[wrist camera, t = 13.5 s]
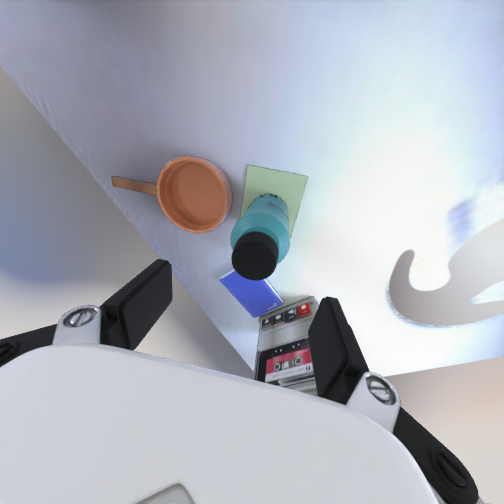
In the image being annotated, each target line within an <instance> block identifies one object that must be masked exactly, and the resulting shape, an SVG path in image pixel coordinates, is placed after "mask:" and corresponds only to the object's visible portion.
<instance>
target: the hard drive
mask: <svg viewBox="0 0 504 504" xmlns="http://www.w3.org/2000/svg"><path fill="white" fill-rule="evenodd" d="M220 281H221V282H222V283H223V284H224V286H225V287H226V288H227V289H228V290H229V291H230V292H231V293H232V294H233V295H234V297H235V298H236V299H237V300H238V301H239V302H240V303H241V304H242V306H243V307H244V308H245V309H246V310H247V311H248V312H249V313H250V314H251V316H252V317H253V318H256V317H258V316H260V315H262V314H264V313H266V312H268V311H271V310H273V309H275V308H277V307H279V306H281V305H283V300H282V299H281V298H280V296H279V295H278V294H277V293H276V291H275V290H274V289H273V288H272V287H271V285H270V284H269V283H268V282H267V280H266V279H263V280H258V281H253V280H248V279H245V278H243V277H242V276H240V275H239V274H238V273H237V272H236V271H235V269H233V270H232V271H230V272H228V273H227V274H225V275H223V276H222V277H221V278H220Z"/></svg>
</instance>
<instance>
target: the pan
mask: <svg viewBox="0 0 504 504" xmlns="http://www.w3.org/2000/svg"><path fill="white" fill-rule="evenodd" d="M157 198H158V201H159V203H160V205H161V208H162V210H163V212H164V214H165V215H166V216H167V217H168V218H169V219H170V221H171V222H172V223H173V224H175V225H176V226H178V227H180V228H181V229H183V230H185V231H189V232H193V233H203V232H208V231H211V230H212V229H214V228H215V227H217V226H218V225H219V224H220V223H221V222H222V221H223V220H224V219H225V218H226V216H227V215H228V213H229V211H230V209H231V204H232V191H231V187H230V183H229V180H228V179H227V177H226V176H225V174H224V173H223V171H222V170H221V168H219V167H218V166H216V165H215V164H213V163H212V162H211V161H209V160H207V159H202V158H197V157H187V156H185V157H181V158H178V159H174V160H171V161H170V162H169V163H168V164H167V165H166V166H165V167H164V168H163V169H162V170H161V173H160V175H159V178H158V181H157Z"/></svg>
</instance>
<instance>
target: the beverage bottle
mask: <svg viewBox="0 0 504 504" xmlns="http://www.w3.org/2000/svg"><path fill="white" fill-rule="evenodd" d="M255 199H256V198H255ZM282 199H283V198H282ZM282 199H281V198H280V196H277V195H276V194H275V195H274V194H271V193H270V194H264V195H260V196H259V197H258V198H257V199H256V200H255V201H254V202H253V203H251V204H250V205H251V206H250V207H248V208H247V209H246V210H247V211H246V212H245V213H244V215H243V216H242V218H241V219H240V220H239V221H238V222H237V223H236V224H235V226H234V228H233V230H232V233H231V246H232V249H233V253H232V265H233V267H234V269H235V271H236V272H237V273H238V274H239V275H240V276H242V277H243V278H245V279H248V280H253V281H258V280H263V279H265V278H267V277H269V276H270V275H271V274H272V273H273V272H274V270H275V268H276V265H277V264H278V263H279V262H281V261H282V260H283V259H284V257H285V256H286V254H287V252H288V250H289V246H290V237H289V231H290V230H289V226H288V222H289V221H288V220H289V219H288V216H289V214H288V215H287V211H288V210H287V206H286V204H285V202H284V201H283V200H282Z"/></svg>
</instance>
